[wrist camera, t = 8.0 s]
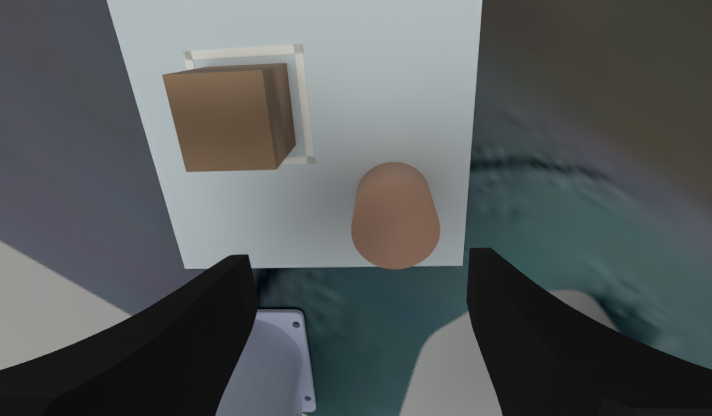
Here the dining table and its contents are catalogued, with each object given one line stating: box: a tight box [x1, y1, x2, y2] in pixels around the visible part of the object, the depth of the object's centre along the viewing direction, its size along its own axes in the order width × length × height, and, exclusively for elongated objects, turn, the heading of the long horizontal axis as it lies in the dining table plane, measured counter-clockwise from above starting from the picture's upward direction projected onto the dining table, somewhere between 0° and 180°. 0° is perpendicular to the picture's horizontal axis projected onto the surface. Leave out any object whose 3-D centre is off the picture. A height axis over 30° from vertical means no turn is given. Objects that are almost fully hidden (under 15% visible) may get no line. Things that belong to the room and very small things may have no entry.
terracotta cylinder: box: [351, 162, 440, 269], centre depth 19 cm, size 4×4×4 cm
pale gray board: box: [107, 0, 482, 269], centre depth 19 cm, size 17×17×1 cm
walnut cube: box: [162, 63, 296, 172], centre depth 17 cm, size 4×4×4 cm
